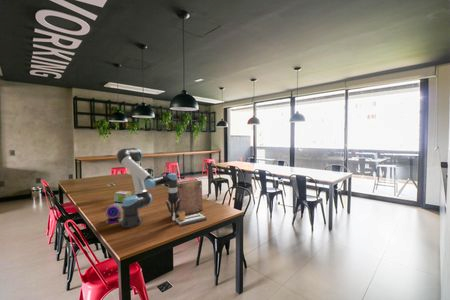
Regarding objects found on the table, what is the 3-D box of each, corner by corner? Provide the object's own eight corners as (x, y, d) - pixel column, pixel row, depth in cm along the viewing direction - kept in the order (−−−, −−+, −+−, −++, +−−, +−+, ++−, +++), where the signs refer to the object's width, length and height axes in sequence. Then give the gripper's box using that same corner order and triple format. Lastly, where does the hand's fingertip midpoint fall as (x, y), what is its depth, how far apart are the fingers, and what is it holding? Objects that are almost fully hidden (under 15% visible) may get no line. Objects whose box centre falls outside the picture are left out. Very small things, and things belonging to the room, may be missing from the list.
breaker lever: (178, 219, 185) (178, 211, 184) (183, 218, 187) (183, 210, 187) (180, 220, 181) (180, 212, 181) (185, 219, 184) (184, 211, 183)
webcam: (104, 224, 182) (103, 207, 181) (108, 219, 194) (107, 202, 193) (121, 222, 185) (120, 205, 185) (123, 217, 198) (123, 201, 197)
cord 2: (180, 225, 177) (180, 223, 177) (205, 219, 189) (205, 217, 189) (181, 226, 175) (181, 224, 175) (206, 219, 188) (206, 218, 188)
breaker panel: (175, 220, 187) (175, 218, 187) (199, 215, 199) (199, 213, 199) (180, 225, 178) (180, 222, 178) (205, 219, 190) (205, 216, 190)
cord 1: (174, 219, 190) (174, 217, 190) (197, 214, 203) (197, 212, 202) (174, 220, 189) (174, 218, 189) (198, 214, 201) (198, 213, 201)
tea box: (114, 206, 231) (113, 192, 230) (121, 203, 241) (120, 190, 240) (125, 207, 227) (125, 193, 226) (132, 204, 236) (131, 191, 235)
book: (197, 208, 220) (196, 179, 219) (202, 210, 213) (201, 180, 212) (174, 214, 204) (173, 182, 202) (179, 216, 197) (178, 184, 195)
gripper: (166, 194, 172) (167, 223, 173) (182, 191, 179) (182, 219, 180) (163, 192, 178) (164, 220, 180) (178, 190, 185) (179, 216, 187)
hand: (173, 219), depth 180 cm, fingers closed
